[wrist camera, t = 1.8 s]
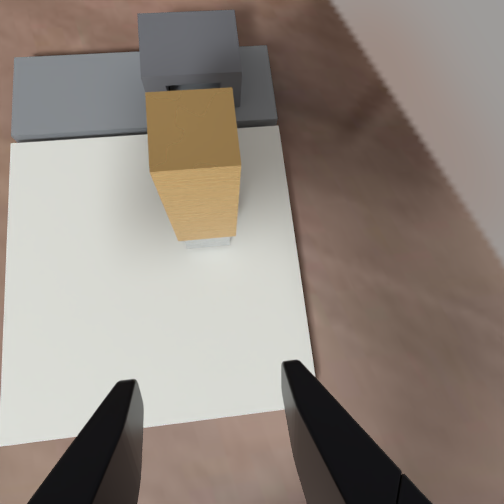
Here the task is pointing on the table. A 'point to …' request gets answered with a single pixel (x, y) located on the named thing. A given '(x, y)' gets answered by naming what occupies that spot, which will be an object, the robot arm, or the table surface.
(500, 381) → the table surface
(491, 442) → the table surface
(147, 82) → the white board
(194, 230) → the tan square block
